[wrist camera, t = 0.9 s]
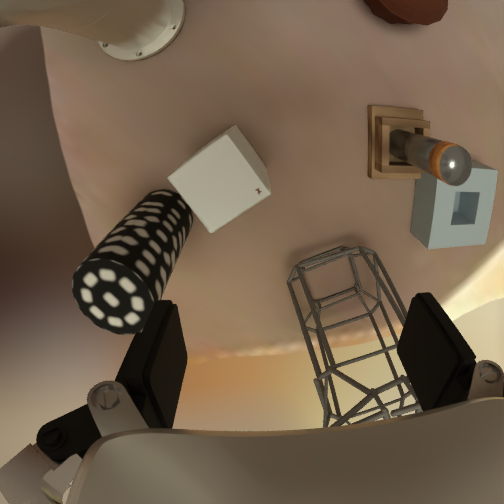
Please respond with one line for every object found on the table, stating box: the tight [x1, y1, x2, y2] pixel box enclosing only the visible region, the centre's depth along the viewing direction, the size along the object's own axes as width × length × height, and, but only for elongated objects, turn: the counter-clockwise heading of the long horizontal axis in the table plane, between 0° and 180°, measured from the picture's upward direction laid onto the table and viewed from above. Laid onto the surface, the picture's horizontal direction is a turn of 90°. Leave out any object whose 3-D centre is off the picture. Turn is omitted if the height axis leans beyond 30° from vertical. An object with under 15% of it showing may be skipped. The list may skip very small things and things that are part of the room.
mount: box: [368, 105, 430, 179], centre depth 36 cm, size 10×8×4 cm
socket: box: [410, 160, 498, 249], centre depth 38 cm, size 12×12×6 cm
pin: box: [389, 129, 472, 186], centre depth 30 cm, size 4×4×14 cm
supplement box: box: [168, 125, 271, 233], centre depth 34 cm, size 7×7×13 cm
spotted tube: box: [72, 190, 193, 335], centre depth 34 cm, size 8×8×20 cm
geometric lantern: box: [287, 246, 422, 428], centre depth 32 cm, size 16×16×35 cm
